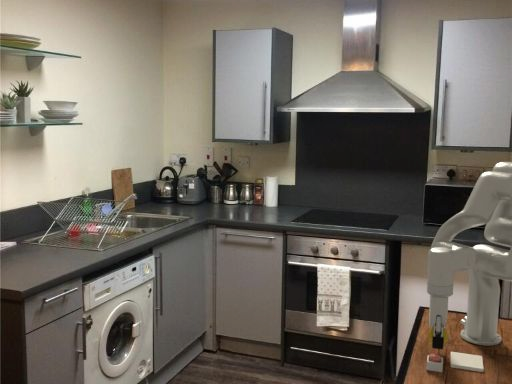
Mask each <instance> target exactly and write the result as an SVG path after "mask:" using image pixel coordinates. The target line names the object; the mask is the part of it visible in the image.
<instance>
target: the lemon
mask: <svg viewBox="0 0 512 384" xmlns="http://www.w3.org/2000/svg"><path fill="white" fill-rule="evenodd" d="M435 326H436V324H435ZM441 327H442V325H441ZM429 328H430V329H429V331H428V339H429V341H430V343H431V344H432V340H433V335H434V326H433V327H429ZM435 331H436V329H435ZM440 331H441V329H440ZM448 336H449V335H448V329H447V328H446V327H445V328H444V327H443V337H444V344H443V346H444V345H446V344H447V341H448V338H449V337H448Z"/></svg>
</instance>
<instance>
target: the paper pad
mask: <svg viewBox="0 0 512 384" xmlns="http://www.w3.org/2000/svg"><path fill="white" fill-rule="evenodd" d="M483 362H484V360H483V355H478V354H470V353H463V352H456V351H450V368H454V369H459V370H460V369H461V370H466V371H472V372H480V373H484V363H483Z"/></svg>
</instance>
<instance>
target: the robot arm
mask: <svg viewBox="0 0 512 384" xmlns="http://www.w3.org/2000/svg"><path fill="white" fill-rule="evenodd" d="M481 226H485V227H484V232H483V234H484V235H483V236H484V238H485V239H486V240H487V241H488V242H490V243H492V244H494V245H499V246H503V247H508V248H510V249H505V248H502V247H499V246H494V245H490V244H483V243H480V244H476V245H474V246H469V245H465V244H461V243H459V242H458V243H457V242H454V241H453V239H454V238H455V237H456V236H457V235H458V234H459V233H461V232H463V231H465V230H469V229H471V228H476V227H481ZM457 271H459V272H460V271H468V277H469V278H468V279H469V280H468V294H467V295H468V297H467V308H466V309H467V310H466V316H465V317H464V318H463V319H461V320H460V322H459V323H460V324H462V325H463V326H464V328H463V329H461V331H460V333H459V334H460V337H461V338H462V339H463V340H465V341H466V342H469V343H471V344H473V345H474V344H475V345H479V346H490V347H491V346H497V345H499V344H500V343H501V342H502V337H501V335H500V334H499V333H497V332H498V322H499V307H500V296H501V287H500V286H501V285H500V282H499V280H502V281H507V282H512V161H501V162H500V161H499V162H498V163H496V164H495V165H494V166H493V168H492V171H490V170H489V171H485V172H483V173H481V174H480V176H479V177H478V179H477V180H476V182H475V184H474V187H473V189H472V191H471V192H470V196H469V197H468V198H467V201H466V203H465V205H464V207H463V209H462V210H461V211H460V212H458V213H456V214H455V215H453V216H452V217H450V218H449V219H448V220H447V221H445V222H444V223H442V225H441V226H440V228H438V230H437V232H436V234H435V237H434V239H433V241H432V243H431V246H430V249H429V250H428V255H427V279H426V280H427V281H426V282H427V283H426V292H427V294H428V295H429V306H428V307H429V310H428V314H429V315H428V326H429V328H431V327H433V326H434V335H433V340H432V343H431V344H432V346H431V347H432V349H436V350H444V345H443V344H444V337H443V327H444V328H446V327H447V320H448V312H449V297H452V296H453V295H454V278H455V276H454V275H455V273H454V272H457ZM498 279H499V280H498ZM435 324H436V326H435ZM441 325H442V327H441ZM435 329H436V331H435ZM440 329H441V331H440Z"/></svg>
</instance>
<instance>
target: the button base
mask: <svg viewBox="0 0 512 384" xmlns="http://www.w3.org/2000/svg"><path fill="white" fill-rule="evenodd" d="M426 358H427V359H426V371H431V372H438V373H443V370H444V369H443V367H444V357H442V356H440V362H439V363H437V362H431V361H430V355H429V354H428V355H427V357H426Z"/></svg>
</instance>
